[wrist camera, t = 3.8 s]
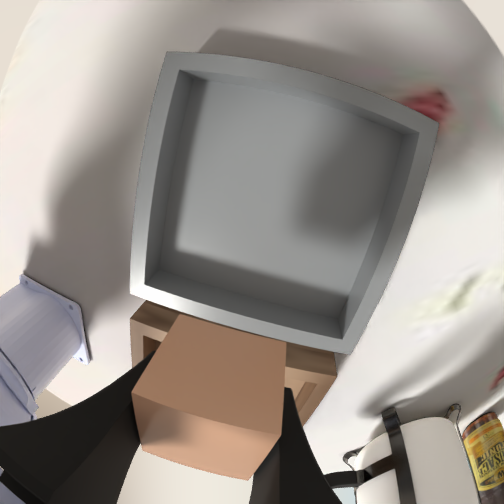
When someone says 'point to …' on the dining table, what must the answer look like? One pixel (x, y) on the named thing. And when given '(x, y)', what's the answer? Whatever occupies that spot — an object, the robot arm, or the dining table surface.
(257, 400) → the terracotta block
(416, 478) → the coffee press
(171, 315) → the walnut crate
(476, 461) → the sauce bottle
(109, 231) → the dining table surface
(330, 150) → the grey bin
